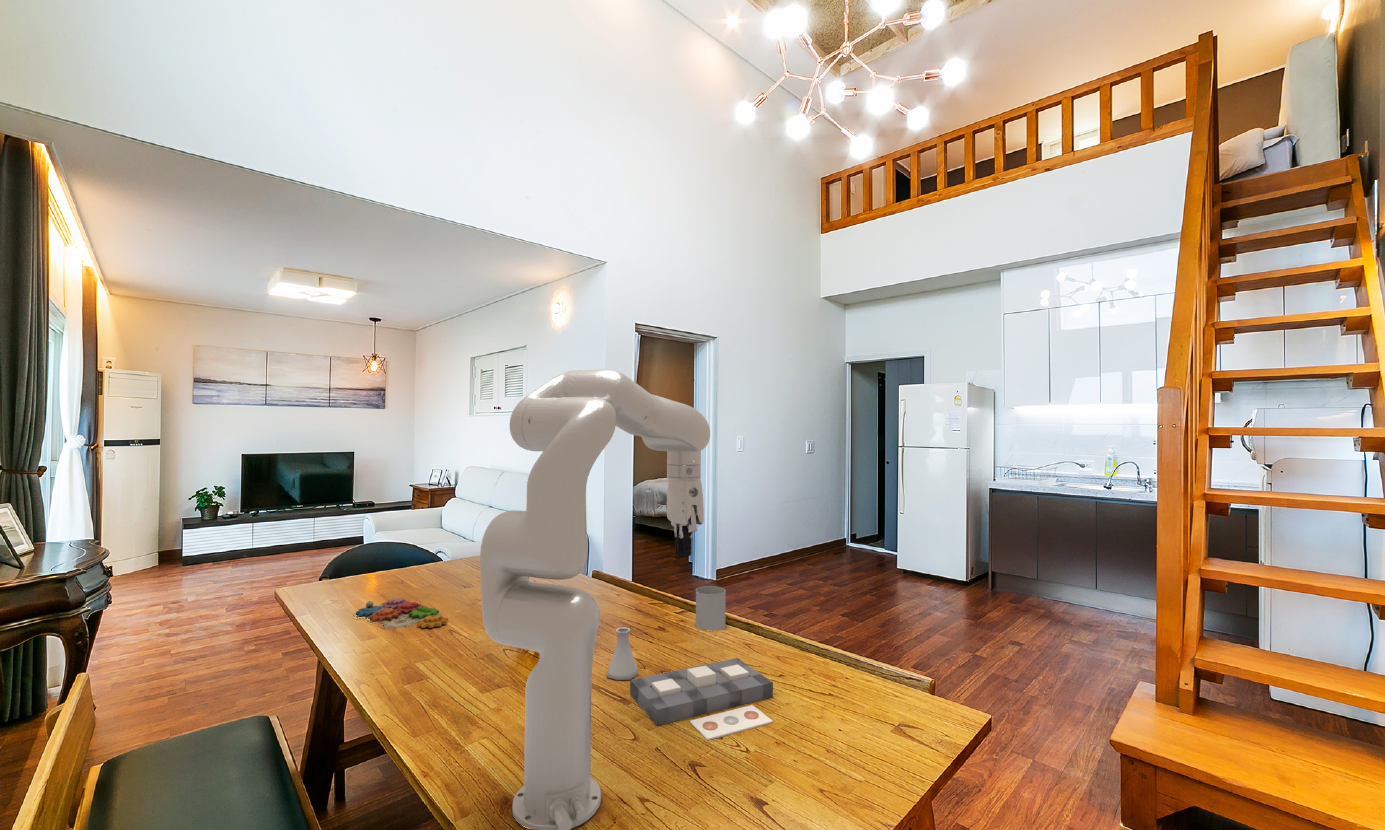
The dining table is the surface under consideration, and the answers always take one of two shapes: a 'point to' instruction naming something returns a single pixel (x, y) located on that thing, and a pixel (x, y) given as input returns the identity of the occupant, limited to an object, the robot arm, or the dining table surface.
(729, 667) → the button
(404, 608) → the gear puzzle
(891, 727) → the dining table surface
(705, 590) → the cup
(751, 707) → the pattern card
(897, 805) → the dining table surface
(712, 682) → the button
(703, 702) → the button board
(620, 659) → the flask
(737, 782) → the dining table surface
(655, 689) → the button
